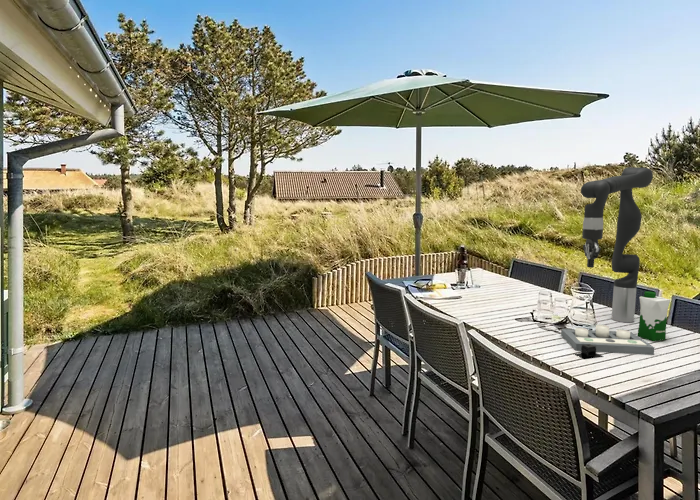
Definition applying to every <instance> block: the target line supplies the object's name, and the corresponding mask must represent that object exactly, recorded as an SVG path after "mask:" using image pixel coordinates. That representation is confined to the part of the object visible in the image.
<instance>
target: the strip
mask: <svg viewBox="0 0 700 500" xmlns="http://www.w3.org/2000/svg"><path fill="white" fill-rule="evenodd" d="M576 339H577V340H578V341H579V342H581V343H601V344H621V345H642V346H647V345H646V344H645V343H643V342H642V341H640V340H624V339H602V338H581V337H576Z"/></svg>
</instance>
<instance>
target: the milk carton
mask: <svg viewBox="0 0 700 500" xmlns="http://www.w3.org/2000/svg"><path fill="white" fill-rule="evenodd" d="M638 299H639V303H640V307H639V309H640V311H639V323H638V324H639V325H638V330H637V335H636V336H638V337H639V338H641V339H643V340H648V341H650V342H653V343H654V342H660V341H665V340H667V339H666V333H667V320H668V309H669V306H670V303H671V299H669V298H666V297H661V296H657V292H654V291H651V290H650V291H647V290H646V291H644V293H643V296H642V295H641V296H639V298H638Z"/></svg>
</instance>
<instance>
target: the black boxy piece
mask: <svg viewBox="0 0 700 500" xmlns="http://www.w3.org/2000/svg"><path fill="white" fill-rule="evenodd" d="M574 354H575V355H574V356H576V357H578V356H579V357H578V358H579V359H580V358H581V359H582V360H590V359H591V360H592V359H597V358H605V357H604V356H603V355H602V354H599V353H598V352H596V346H593V345H591V344H587V345H582V347H581V351H580V352H579V353H578V354H577V353H574Z"/></svg>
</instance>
